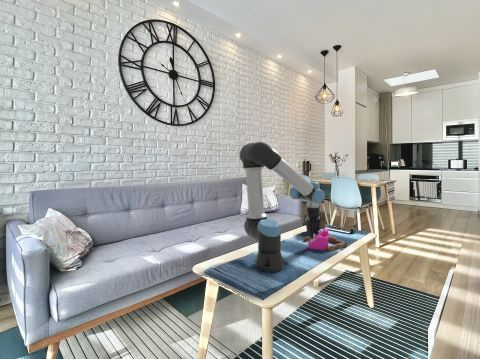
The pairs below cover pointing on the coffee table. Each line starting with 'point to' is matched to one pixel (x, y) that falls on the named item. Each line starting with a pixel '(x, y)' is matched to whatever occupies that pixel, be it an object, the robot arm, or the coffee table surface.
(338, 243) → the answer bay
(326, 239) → the bracket
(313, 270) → the coffee table surface
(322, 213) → the brown pump bottle
